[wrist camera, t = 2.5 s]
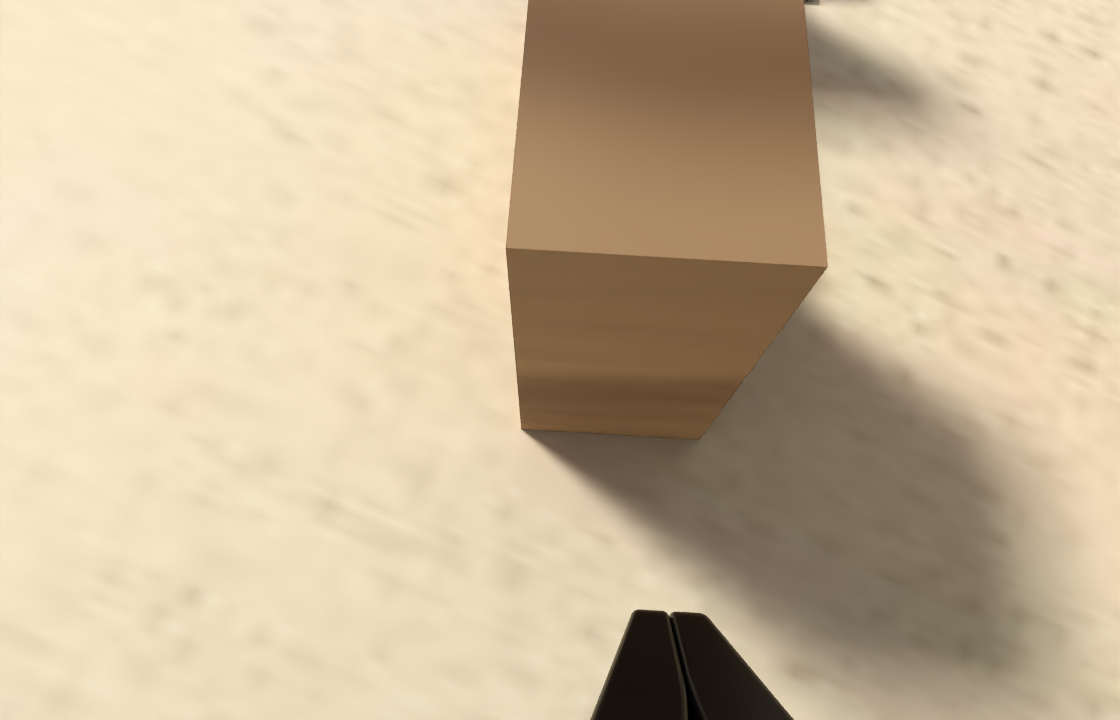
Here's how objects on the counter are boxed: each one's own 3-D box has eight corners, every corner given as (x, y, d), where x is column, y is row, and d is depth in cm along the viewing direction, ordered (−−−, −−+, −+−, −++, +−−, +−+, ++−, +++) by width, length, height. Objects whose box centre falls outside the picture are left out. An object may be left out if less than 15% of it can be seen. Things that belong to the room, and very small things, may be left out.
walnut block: (699, 439, 19) (828, 266, 10) (521, 429, 19) (506, 247, 10) (692, 18, 24) (775, -325, 16) (552, 9, 24) (559, -338, 16)
